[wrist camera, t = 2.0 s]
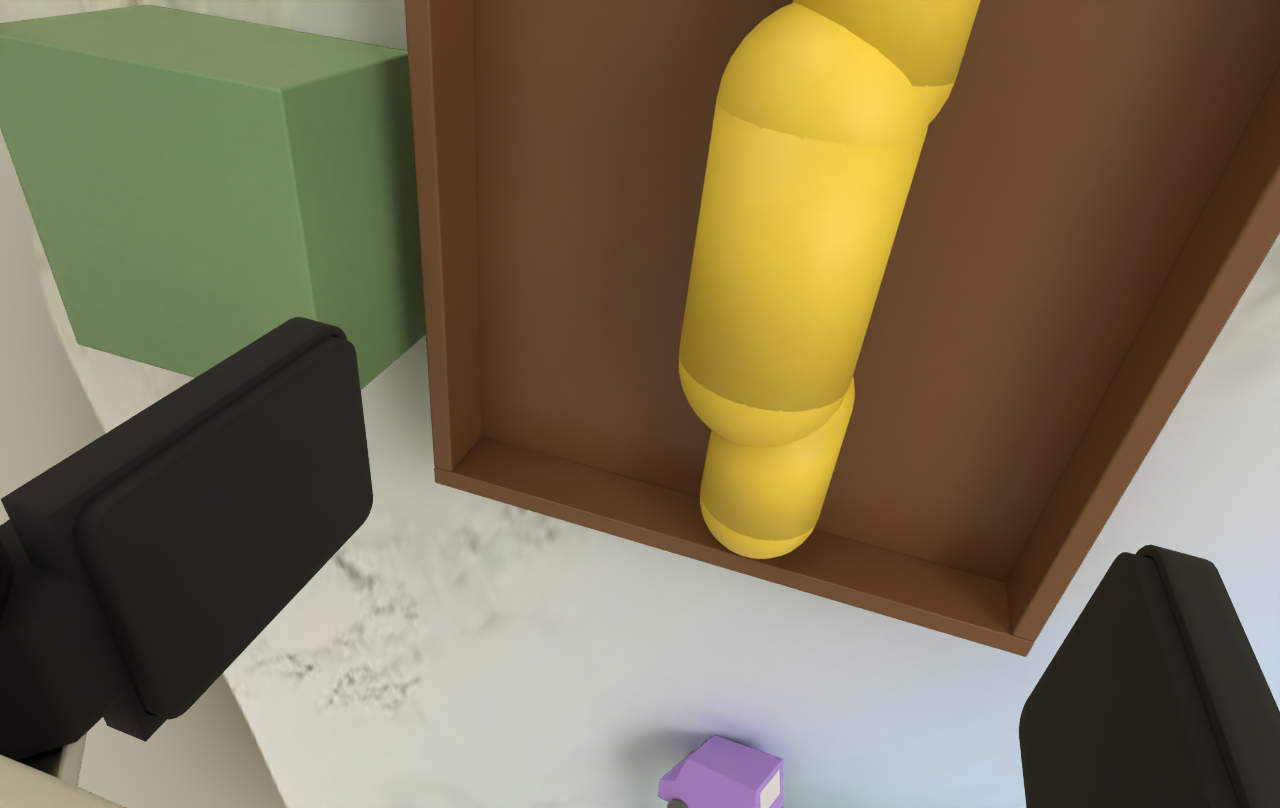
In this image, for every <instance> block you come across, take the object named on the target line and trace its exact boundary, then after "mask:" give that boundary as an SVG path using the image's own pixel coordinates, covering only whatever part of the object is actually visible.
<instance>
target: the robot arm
mask: <svg viewBox="0 0 1280 808" xmlns="http://www.w3.org/2000/svg"><path fill="white" fill-rule="evenodd" d="M1 501H2V503H3V505H4V507H5V510H6V512H7V514H8V516H9V518H10V520H8V521H7V522H5V523H4V524H2V525H1V526H0V808H125V807H123V806H121V805H118V804H116V803H114V802H112V801H109V800H107V799H105V798H102V797H100V796H98V795H95V794H93V793H91V792H88V791H86V790H84V789H81V788H79V787H77V785H78V780H79V774H80V768H81V763H82V756H83V752H84V746H85V741H86V735H87V732H88V731H89V730H90V729H91V728H92V727H93V726H94V725H95V724H96V723H97V722H98V721H99V720H100V719H101V718H102V717H104V720H105V722H106V724H107V726H110V727H112V728H114V729H117V730H119V731H122V732H124V733H126V734H129V735H131V736H133V737H136V738H138V739H141V740H143V741H147V740H148V739H149V738H150V737H151V736H152V734H153V733H154V732H155V731H156V730H157V729H158V728H159V727H160V726H161V725H162V724H163V723H164V722H165V721H166V720H167V719H173V718H177V717H178V716H180V715H182V714H183V713H185V712H186V711H187V710H188V709H189V708H190V707H191V706H192V705H193V704H194V703H195V702H196V701H197V700H198V699H199V697H200V696H201V695H202V694H203V693H204V692H205V691H206V690H207V689H208V688H209V687H210V685H212V684H213V683H214V682H215V680H216V679H217V678H218V677H219V676H220V675H221V674H222V673H223V672H224V671H225V670H226V669H227V668H228V667H229V666H230V665H231V663H232V662H233V661H234V660H235V659H236V658H237V657H238V656H239V655H240V654H241V653H242V652H243V651H244V650H245V649H246V648H247V646H248V645H249V644H250V643H251V642H252V641H253V640H254V639H255V638H256V637H257V636H258V635H259V634H260V633H261V632H262V631H263V629H264V628H265V627H266V626H267V625H268V624H269V623H270V622H271V621H272V620H273V619H274V618H275V617H276V616H277V615H278V614H279V612H280V611H281V610H282V609H283V608H284V607H285V606H286V605H287V604H288V603H289V602H290V601H291V600H292V599H293V598H294V597H295V595H296V594H297V593H298V592H299V591H300V590H301V589H302V588H303V587H304V586H305V585H306V584H307V583H308V582H309V581H310V580H311V578H312V577H313V576H314V575H315V574H316V573H317V572H318V571H319V570H320V569H321V568H322V567H323V566H324V565H325V564H326V563H327V561H328V560H329V559H330V558H331V557H332V556H333V555H334V554H335V553H336V552H337V551H338V550H339V549H340V548H341V547H342V546H343V544H344V543H345V542H346V541H347V540H348V539H349V538H350V537H351V536H352V535H353V534H354V533H355V532H356V531H357V530H358V529H359V527H360V526H361V525H362V524H363V523H364V522H365V520H366V519H367V517H368V515H369V513H370V511H371V508H372V503H373V492H372V483H371V474H370V466H369V457H368V449H367V440H366V432H365V423H364V415H363V406H362V398H361V389H360V381H359V372H358V363H357V355H356V350H355V347H354V345H353V344H352V343H351V342H349V341H348V340H347V336H346V334H345V333H344V331H343V330H342V329H340V328H339V327H337V326H333V325H330V324H326V323H322V322H318V321H315V320H311V319H307V318H304V317H294V318H292V319H289V320H287V321H286V322H284V323H283V324H281V325H279V326H278V327H276V328H275V329H273V330H271V331H270V332H268V333H267V334H265V335H263V336H262V337H260V338H259V339H257V340H255V341H254V342H252V343H251V344H249V345H247V346H246V347H244V348H243V349H241V350H239V351H238V352H236V353H234V354H233V355H231V356H230V357H228V358H226V359H225V360H223V361H222V362H220V363H218V364H217V365H215V366H214V367H212V368H210V369H209V370H207V371H206V372H204V373H202V374H201V375H199V376H198V377H196V378H194V379H193V380H191V381H190V382H188V383H186V384H185V385H183V386H182V387H180V388H178V389H177V390H175V391H173V392H172V393H170V394H169V395H167V396H165V397H164V398H162V399H161V400H159V401H157V402H156V403H154V404H153V405H151V406H149V407H148V408H146V409H145V410H143V411H141V412H140V413H138V414H137V415H135V416H133V417H132V418H130V419H129V420H127V421H125V422H124V423H122V424H121V425H119V426H117V427H116V428H114V429H113V430H111V431H109V432H108V433H106V434H104V435H103V436H101V437H100V438H98V439H96V440H95V441H93V442H92V443H90V444H88V445H87V446H85V447H84V448H82V449H80V450H79V451H77V452H76V453H74V454H72V455H71V456H69V457H68V458H66V459H64V460H63V461H61V462H60V463H58V464H56V465H55V466H53V467H52V468H50V469H48V470H47V471H45V472H44V473H42V474H40V475H39V476H37V477H35V478H34V479H32V480H31V481H29V482H27V483H26V484H24V485H23V486H21V487H19V488H18V489H16V490H15V491H13V492H11V493H10V494H8V495H7V496H5V497H3V498H2V499H1ZM1019 740H1020V749H1021V759H1022V768H1023V778H1024V787H1025V797H1026V806H1027V808H1280V711H1279V709H1278V707H1277V704H1276V702H1275V700H1274V698H1273V695H1272V693H1271V691H1270V688H1269V686H1268V684H1267V682H1266V679H1265V677H1264V675H1263V672H1262V670H1261V668H1260V666H1259V663H1258V661H1257V659H1256V656H1255V654H1254V652H1253V650H1252V647H1251V645H1250V643H1249V640H1248V638H1247V636H1246V634H1245V631H1244V629H1243V627H1242V624H1241V622H1240V620H1239V618H1238V615H1237V613H1236V611H1235V609H1234V606H1233V604H1232V602H1231V599H1230V597H1229V595H1228V593H1227V590H1226V588H1225V586H1224V583H1223V581H1222V579H1221V577H1220V574H1219V572H1218V570H1217V568H1216V567H1215V565H1214V564H1213V563H1212V562H1210V561H1208V560H1206V559H1202V558H1199V557H1195V556H1191V555H1187V554H1184V553H1180V552H1176V551H1173V550H1169V549H1165V548H1161V547H1158V546H1154V545H1145V546H1144V547H1142V548H1141V549H1139V550H1138V552H1137V553H1136V554H1131V553H1128V552H1124V553H1121V554H1120V555H1118V556H1117V558H1116V559H1115V560H1114V562H1113V563H1112V565H1111V566H1110V568H1109V570H1108V571H1107V573H1106V574H1105V576H1104V578H1103V579H1102V581H1101V582H1100V584H1099V586H1098V587H1097V589H1096V590H1095V592H1094V594H1093V595H1092V597H1091V598H1090V600H1089V602H1088V603H1087V605H1086V606H1085V608H1084V610H1083V611H1082V613H1081V614H1080V616H1079V618H1078V619H1077V621H1076V622H1075V624H1074V626H1073V627H1072V629H1071V630H1070V632H1069V634H1068V635H1067V637H1066V638H1065V640H1064V642H1063V643H1062V645H1061V646H1060V648H1059V650H1058V651H1057V653H1056V655H1055V656H1054V658H1053V659H1052V661H1051V663H1050V664H1049V666H1048V667H1047V669H1046V671H1045V672H1044V674H1043V675H1042V677H1041V679H1040V680H1039V682H1038V683H1037V685H1036V687H1035V688H1034V690H1033V691H1032V693H1031V695H1030V696H1029V698H1028V699H1027V701H1026V703H1025V705H1024V707H1023V710H1022V713H1021V718H1020V724H1019Z"/></svg>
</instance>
